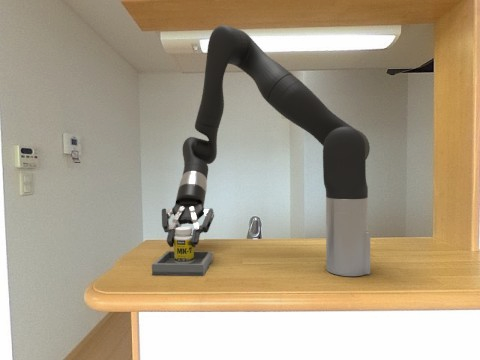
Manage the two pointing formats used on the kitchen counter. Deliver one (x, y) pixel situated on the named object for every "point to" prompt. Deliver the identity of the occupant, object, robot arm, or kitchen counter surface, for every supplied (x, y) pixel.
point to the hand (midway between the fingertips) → (182, 245)
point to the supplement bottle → (183, 245)
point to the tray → (169, 267)
